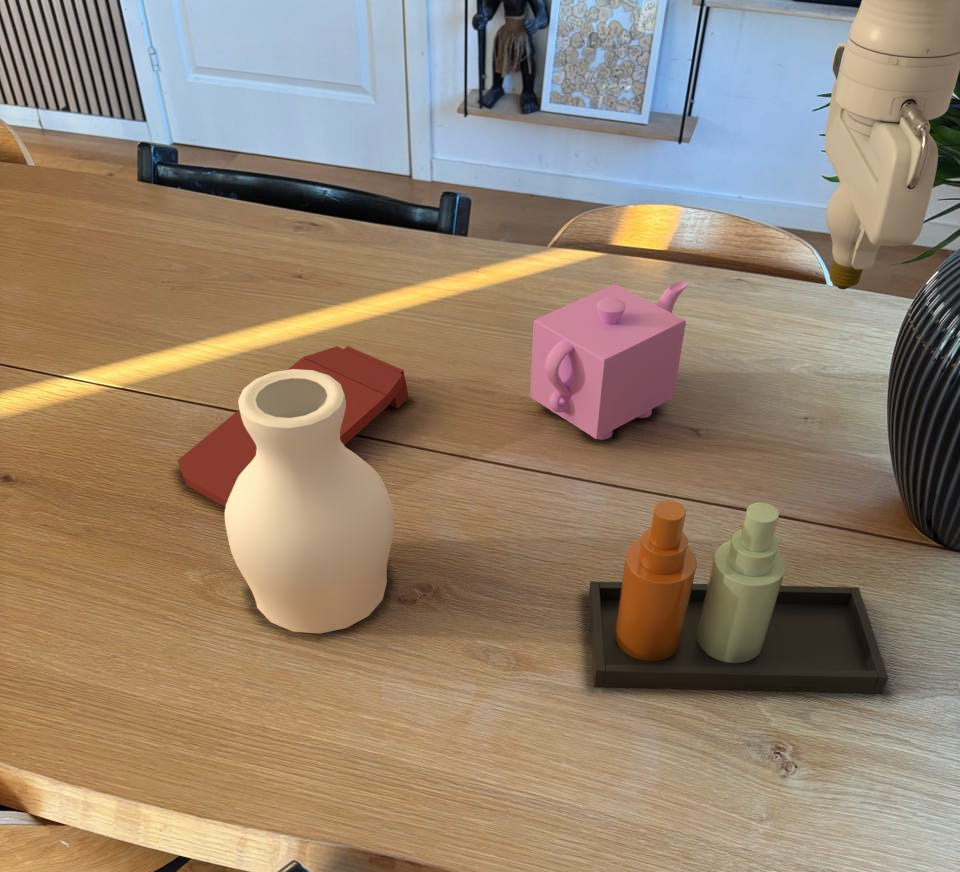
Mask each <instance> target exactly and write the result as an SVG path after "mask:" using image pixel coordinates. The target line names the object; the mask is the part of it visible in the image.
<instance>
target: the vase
mask: <svg viewBox="0 0 960 872" xmlns="http://www.w3.org/2000/svg"><path fill="white" fill-rule="evenodd" d="M237 400H238V410H240V414H241V418H242V421H243V424H244V426H245V428H246V430H247V431H248V433H249V434H250V436H251V437H252V439H253V440H254V442H255V444H256V447H257V450H256V456H255V457H254V459H253V460H252V461H251V462H250V464H249V465H248V466H247V467H246V468H245V469H244V470H243V471H242V473H241V474H240V475H239V476H238V478H237V480H236V482H235V485H234V487H233V489H232V492H231V494H230V496H229V499H228V501H227V503H226V507H224V508H225V509H224V526H225V530H226V536H227V540H228V541H227V542H228V545H229V549H230V553H231V555H232V558H233V561H234V563H235V564H236V566H237V569H238V571H240V574H241V575H242V576H243V579H244V580H245V582H246V584H247V586H248V588H249V589H250V591H251V592H252V595H253V598H254V600H255V605H256V608H257V609H258V610H259V612H261V614H262V615H263V616H264V617H265V618H266V619H267V620H268V621H269V622H270V623H271V624H274V625H277V626H279V627H281V628H283V629H286V630H288V631H290V632H294V633H307V634H324V633H330V632H334V631H338V630H344V629H348V628H349V627H352V626H353V625H354V624H356V623H358V622H360V621H362V620H364V619H365V618H367V617H370V615H371V614H372V613H373V612H374V610H375V609H376V608H377V607H379V605H380V603H382V601H383V600H384V595H385V591H386V587H387V583H388V578H387V570H388V562H389V557H390V552H391V548H392V544H393V539H394V533H395V523H396V519H395V511H394V507H393V503H392V500H391V497H390V495H389V492H388V490H387V487H386V485H385V482H384V480H383V479H382V477H381V475H380V474H379V473H378V471H376V469H375V468H373V466H371V465H370V464H369V463H367V462H366V461H365V460H364V459H363V458H361V456H359V455H358V454H356V453H355V452H353V451H352V450H350V448H347V447H346V445H343V443H342V442H341V441H340V429H341V424H342V421H343V417H344V414H345V409H346V400H345V395H344V392H343V390H342V387H341V384H340V383H338V382H337V381H336V380H335V379H333V378H332V377H331V376H329V375H326V374H323V373H320V372H317V371H313V370H300V369H291V370H288V369H285V370H279V371H278V370H277V371H273V372H269V373H268V374H265V375H262V376H260V377H257V378H255V379H254V380H253V381H251V382H250V383H249V384H248V385H246V386H245V387H244V388H243V389H242V391H241V394H240V395H239V398H238V399H237Z"/></svg>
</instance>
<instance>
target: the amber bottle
mask: <svg viewBox="0 0 960 872" xmlns="http://www.w3.org/2000/svg"><path fill="white" fill-rule="evenodd" d="M653 508H654V509H653V513H652V518H651V519H652V520H651V526H650V527H649V528H647V529H646V530H644V531H643V533H642V534H641V539H638V540H636V541H635V542H634V543H632V544H631V545H630V546H629V547H628V549H627V551H626V553H625V558H624V566H623V574H622V581H621V582H622V587H621V594H620V601H619V608H618V615H617V622H616V629H615V639H616V642H617V644H618V646H619V647H620V649H621V650H622V651H624V652H625V653H626V654H628V655H629V656H631V657H633V658H636V659H639V660H643V661H660V660H663V659H666V658H668V657H670V656H672V655H673V654H674V653H675V652H676V651H677V650H678V648H679V646H680V642H681V638H682V633H683V628H684V624H685V619H686V614H687V609H688V605H689V600H690V595H691V591H692V586H693V584H694V580H695V577H696V576H695V575H696V571H697V568H698V567H697V566H698V561H697V557H696V555H695V553H694V552H693V550H692V549H691V548H690V547H689V541H688V538H687V535H686V534H685V533H684V532H683V530H684V524H685V519H686V515H687V509H686V508H685V506H684V505H682V503H680V502H678V501H675V500H669V499H668V500H662V501H659V502H658V503H656V504H655V505H654V507H653Z"/></svg>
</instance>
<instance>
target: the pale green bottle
mask: <svg viewBox="0 0 960 872" xmlns="http://www.w3.org/2000/svg"><path fill="white" fill-rule="evenodd" d="M779 512H780V511H779V510H778V508H777V507H775V505H772V504H770V503H767V502H763V501H762V502H761V501H758V502H754V503H751V504H749V506H747V508H746V511H745V515H744V519H743V524H742V527H741V528H740V529H738V530H736V531H735V532H734V533H733V534H732V536H731V540H728V541H725V542H723V543H722V544H721V545H719V546H718V547H717V549H716V550H715V552H714V555H713V560H712V564H711V568H710V572H709V578H708V580H707V581H708V582H707V584H708V586H707V590H706V594H705V599H704V603H703V608H702V612H701V616H700V621H699V625H698V630H697V640H698V643H699V645H700V647H701V648H702V649H703V651H705V652H706V653H707V654H708V655H709V656H711V657H713V658H715V659H717V660H720V661H723V662H727V663H743V662H747V661H750V660H752V659H754V658H755V657H756V656H757V655H758V654H759V653H760V652H761V650H762V647H763V644H764V641H765V637H766V634H767V631H768V627H769V624H770V621H771V617H772V614H773V611H774V607H775V604H776V601H777V597H778V594H779V591H780V587H781V586H782V584H783V580H784V578H785V574H786V569H787V564H786V560H785V558H784V556H783V555H782V553H781V552H779V542H778V539H777V538H776V536H775V531H776V528H777V525H778V521H779V518H780V513H779Z"/></svg>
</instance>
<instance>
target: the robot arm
mask: <svg viewBox="0 0 960 872" xmlns="http://www.w3.org/2000/svg"><path fill="white" fill-rule="evenodd" d="M831 71H832V73H833V75H834V81H833V85H832V90H831V95H830V101H829V108H828V114H827V121H826V125H825V126H826V127H825V137H824V138H825V139H824V149H825V154H826V156H827V158H828V160H829V162H830V164H831V166H832V168H833V170H834V172H835V174H836V176H837V178H838V180H839V183H838V187H839V186H840V185H842V184H843V183H844V182H846V183H847V184H848V186H849V191H850V197H851V204H852V206H853V208H854V210H855V212H856V214H857V216H858V218H859V220H860V222H861V224H860V230H861V233H860V235H859V237H858V240H857V242H853V245H852V248H851V253H850V256H849V259H850V262H851V264H852V266H853V268H854V269H863V270H870V269H871V268H873V266H874V264H875V261H876V257H877V254H878V251H879V249H881V247H882V246H883V247H906V246H907V247H909V246H912V245H913V244H914V243H915V242H916V241H917V239H918V238H919V236H920V235H921V232H922V230H923V226H924V223H925V219H926V217H927V216H926V215H927V211H928V208H929V204H930V200H931V197H932V192H933V188H934V183H935V180H936V174H937V170H938V169H937V168H938V161H939V149H938V145H937V142H936V141H935V140H934V138H933V137H932V135H931V134H930V131H931V124H930V122H929V121H931V120H934V119H937V118H940V117H942V116H943V115H945V114H946V112H948V110H949V107H950V105H951V104H950V103H951V100H952V97H953V94H954V91H955V87H956V84H957V81H958V77H959V74H960V0H861V2H860V5H859V8H858V11H857V13H856V15H855V17H854V19H853V20H852V23H851V25H850V27H849V32H848V35H847V40H846V42H839V43H838V44H836V46H835V48H834V52H833V56H832V62H831Z"/></svg>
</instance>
